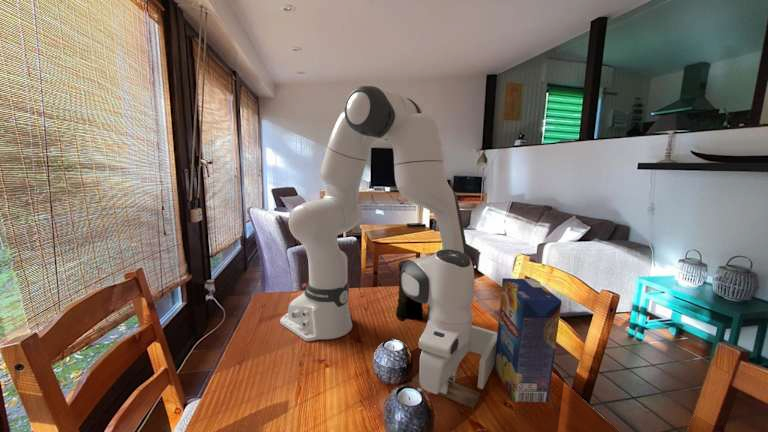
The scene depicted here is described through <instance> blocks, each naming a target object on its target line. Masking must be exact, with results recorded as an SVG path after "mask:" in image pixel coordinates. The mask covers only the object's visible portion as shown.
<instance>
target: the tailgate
mask: <svg viewBox="0 0 768 432" xmlns="http://www.w3.org/2000/svg"><path fill="white" fill-rule="evenodd" d="M411 383H412V384H413V385H416V386H419V387H421V385H420V374H419V372H418V373H417V374H416V375H415V376H414V377H413V378H412V380H411ZM437 395H440V396H442V397H445V398H447V399H449V400H452V401H454V402H457V403H459V404H462V405H464V406H466V407H469V408H471V409H475V407H476V404H477V402H478V400H479V398H480V396H481V395H482V394H481V392H479V391H476V390H474V389H471V388H468V387H466V386H464V385H461V384H458V383H456V382H454V383H453V384H452V385H450V384H449V390H448V392H447V393H446V394H444V393H441V392H439V393H438V394H437Z"/></svg>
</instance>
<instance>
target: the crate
mask: <svg viewBox="0 0 768 432" xmlns="http://www.w3.org/2000/svg"><path fill="white" fill-rule="evenodd" d="M496 342H497V331H493V330H489V329H486V328H483V327H480V326H476V325H473V324H472V329H471V346H470V349H469V351H468V352H471V353H474V354H478V355H480V356H481V357H480V359H479V365H478V374H477V376H478V377H477V378H478V379H477V388H478V389H481V390H483V389H485V385H486V383H487V382H488V379H489V377H490V375H491V373H492V371H493V369H494V368H495V367H494V362H495V352H496Z"/></svg>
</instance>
